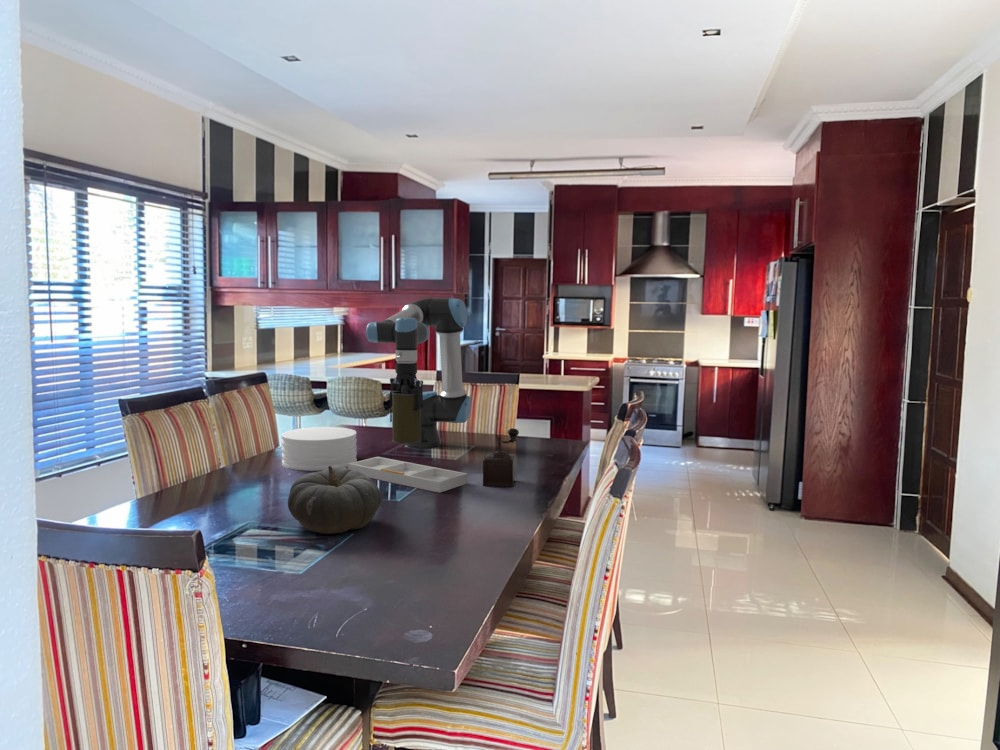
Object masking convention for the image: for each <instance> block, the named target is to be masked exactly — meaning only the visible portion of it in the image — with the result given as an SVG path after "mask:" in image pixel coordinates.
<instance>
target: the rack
mask: <svg viewBox="0 0 1000 750" xmlns="http://www.w3.org/2000/svg"><path fill="white" fill-rule="evenodd" d="M347 468H348V469H351V470H352V471H359V472H361V473H363V474H364V475H366V476H367V477H369V478H370V479H374V480H378V481H384V482H387V483H393V484H396V485H402V486H405V487H411V488H416V489H421V490H425V491H430V492H434V493H443V492H446V491H448V490H452V489H455V488H457V487H461V486H464V485H467V484H468V479H469V477H468V473H466V472H460V471H457V470H452V469H445V468H439V467H434V466H429V465H424V464H418V463H414V462H408V461H402V460H397V459H393V458H392V459H391V458H387V457H383V456H382V457H381V456H375V457H370V458H366V459H362V460H358V461H357V462H353V463H349V464H348V466H347Z"/></svg>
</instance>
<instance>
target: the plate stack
mask: <svg viewBox="0 0 1000 750" xmlns="http://www.w3.org/2000/svg"><path fill="white" fill-rule="evenodd" d="M281 452H282V453H281V465H282V466H283V467H284V468H288V469H291V470H296V471H311V472H312V471H313V472H314V471H323V470H325V469H328V467H329V466H331V467H332V468H333V467H335V466H341V467H345V468H348V464H349V463H353V462H357V460H358V459H357V454H358V452H357V431H356V430H354V429H351V428H349V427H339V426H314V427H313V426H311V427H302V428H293V429H291V430H286V431H285V432H282V433H281Z"/></svg>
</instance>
